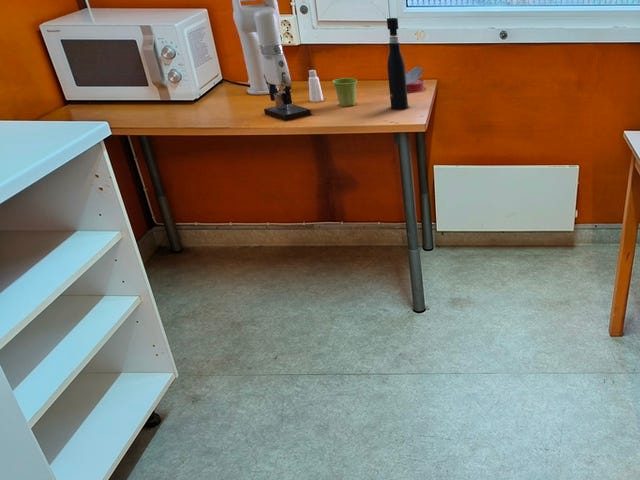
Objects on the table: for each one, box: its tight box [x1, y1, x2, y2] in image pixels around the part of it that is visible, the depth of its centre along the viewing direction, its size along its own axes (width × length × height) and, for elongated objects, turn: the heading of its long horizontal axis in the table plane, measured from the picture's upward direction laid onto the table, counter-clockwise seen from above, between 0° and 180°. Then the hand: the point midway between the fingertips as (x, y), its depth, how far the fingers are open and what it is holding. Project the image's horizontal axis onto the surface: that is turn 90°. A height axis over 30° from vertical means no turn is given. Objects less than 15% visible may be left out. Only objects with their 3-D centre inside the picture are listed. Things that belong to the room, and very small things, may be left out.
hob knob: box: [274, 91, 289, 109], centre depth 234 cm, size 4×4×5 cm
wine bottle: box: [386, 17, 409, 111], centre depth 232 cm, size 6×6×30 cm
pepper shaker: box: [308, 69, 325, 103], centre depth 249 cm, size 5×5×11 cm
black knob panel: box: [263, 103, 312, 122], centre depth 234 cm, size 14×11×2 cm
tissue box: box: [405, 66, 425, 93], centre depth 263 cm, size 11×10×10 cm
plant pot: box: [331, 77, 358, 107], centre depth 243 cm, size 9×9×9 cm
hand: (281, 101), depth 234 cm, fingers open, 8 cm apart
